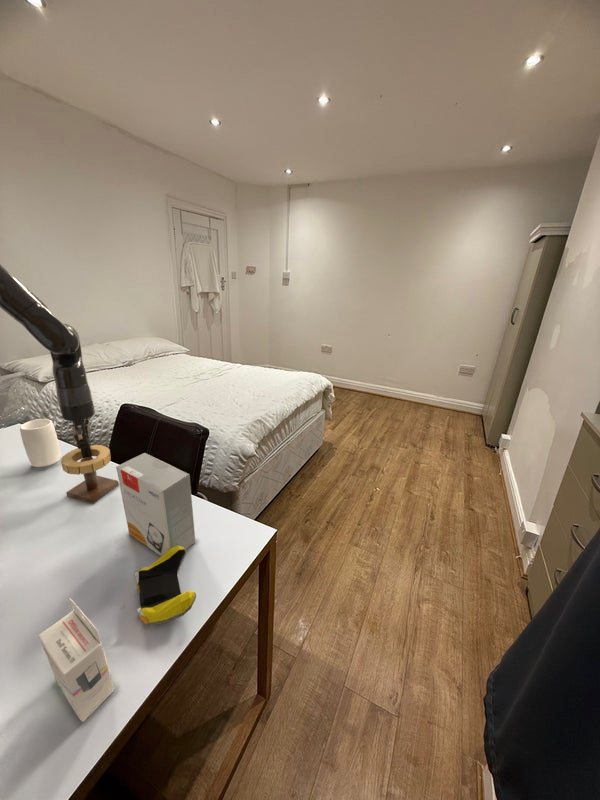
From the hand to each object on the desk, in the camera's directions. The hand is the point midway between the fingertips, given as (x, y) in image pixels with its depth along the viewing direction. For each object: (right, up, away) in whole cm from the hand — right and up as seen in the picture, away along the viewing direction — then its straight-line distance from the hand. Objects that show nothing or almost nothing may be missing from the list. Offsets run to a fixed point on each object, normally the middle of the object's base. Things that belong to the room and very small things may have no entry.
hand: (87, 455), depth 93 cm
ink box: (+28, -29, -43) cm, 59 cm away
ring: (+2, -2, -3) cm, 4 cm away
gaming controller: (+35, -24, -28) cm, 51 cm away
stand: (+2, -10, 0) cm, 10 cm away
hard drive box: (+28, -18, -15) cm, 36 cm away
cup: (-21, -5, +11) cm, 24 cm away
